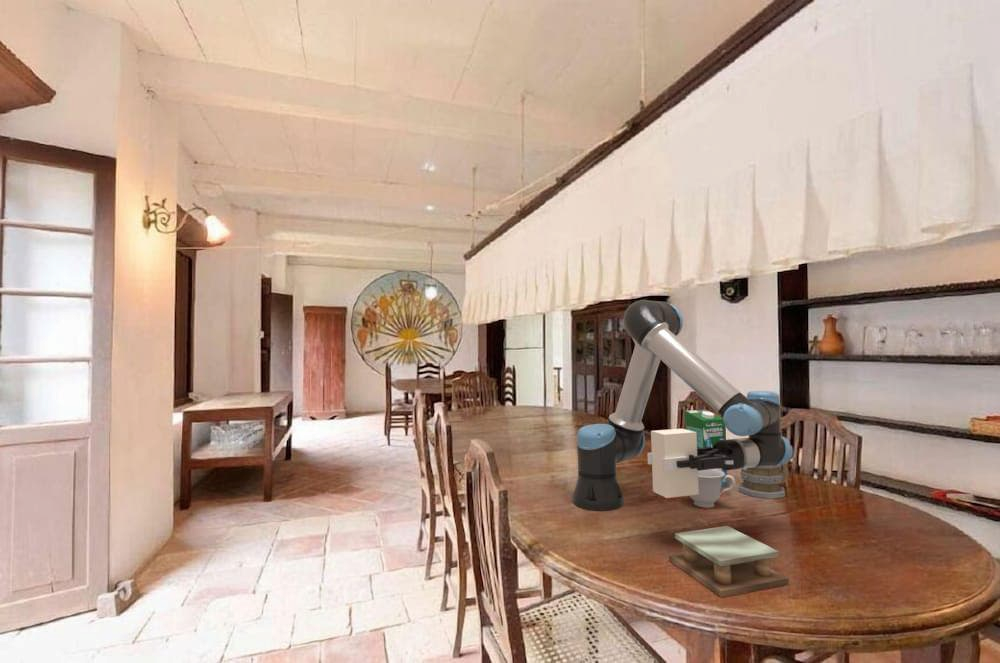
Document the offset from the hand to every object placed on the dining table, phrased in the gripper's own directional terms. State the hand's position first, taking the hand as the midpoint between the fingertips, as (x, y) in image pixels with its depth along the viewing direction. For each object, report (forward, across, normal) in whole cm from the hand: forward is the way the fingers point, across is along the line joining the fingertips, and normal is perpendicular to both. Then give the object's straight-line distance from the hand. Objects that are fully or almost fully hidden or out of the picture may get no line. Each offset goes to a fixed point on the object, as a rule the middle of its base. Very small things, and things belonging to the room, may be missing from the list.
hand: (655, 461), depth 111 cm
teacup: (-30, +19, -20) cm, 41 cm away
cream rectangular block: (-5, 0, -8) cm, 10 cm away
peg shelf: (-5, -16, -20) cm, 26 cm away
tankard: (-58, +24, -20) cm, 66 cm away
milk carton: (-45, +38, -20) cm, 62 cm away
